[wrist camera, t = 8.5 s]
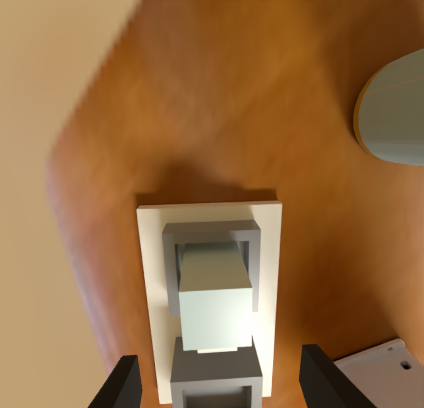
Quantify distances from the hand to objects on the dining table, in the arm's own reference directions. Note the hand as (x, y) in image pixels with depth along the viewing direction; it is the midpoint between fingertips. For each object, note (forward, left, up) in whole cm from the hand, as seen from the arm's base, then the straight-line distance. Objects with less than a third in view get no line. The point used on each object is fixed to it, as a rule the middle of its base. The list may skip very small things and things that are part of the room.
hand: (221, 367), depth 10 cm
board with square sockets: (+2, +5, -10) cm, 11 cm away
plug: (0, 0, -9) cm, 9 cm away
